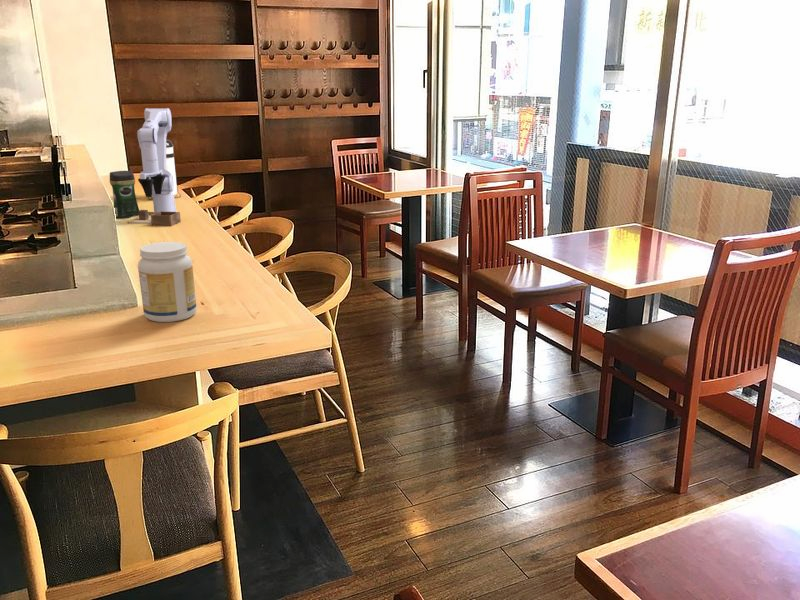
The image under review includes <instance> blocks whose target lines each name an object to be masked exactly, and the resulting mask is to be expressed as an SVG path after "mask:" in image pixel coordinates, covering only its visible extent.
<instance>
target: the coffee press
mask: <svg viewBox="0 0 800 600" xmlns="http://www.w3.org/2000/svg"><path fill="white" fill-rule="evenodd" d="M166 170H167V171H169V172H170V173H171V174H172V176H173V182H174V190H173V191H172V192H171V193H172V194H173V195H174V196H176V197H178V198H181V197H182V194H179V196H178V193H179V190H178V189H179V188H178V180H177V170H176V161H175V152H174V144H173V142H172V141H171V140H170V139H167V138H166ZM147 199H148V201H149V200H153V197H147Z"/></svg>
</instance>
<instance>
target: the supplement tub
mask: <svg viewBox="0 0 800 600" xmlns="http://www.w3.org/2000/svg"><path fill="white" fill-rule="evenodd" d="M187 248H188V247H187V244H186V243H184V242H181V241H180V242H179V241H178V242H177V241H159V242H152V243H149V244H145V245H142V246H141V247H140V248H139V251H140V252H139V256H140V257H141V258H140V259H139V261H138V264H137V269H138V271H137V272H138V278H139V286H140V293H141V302H142V308H143V315H144V317H145V318H146V319H148V320H150V321H153V322H155V323H174V322H179V321H182V320H183V321H184V320H186V319H188V318H191V317H193V316H194V315H195V314H196V312H197V309H198V307H197V298H196V297H197V296H196V289H195V288H196V287H195V277H194V269H193V268H194V266H193V261H192V258H191V256H189V255H188V254H187V253H188V249H187Z"/></svg>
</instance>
